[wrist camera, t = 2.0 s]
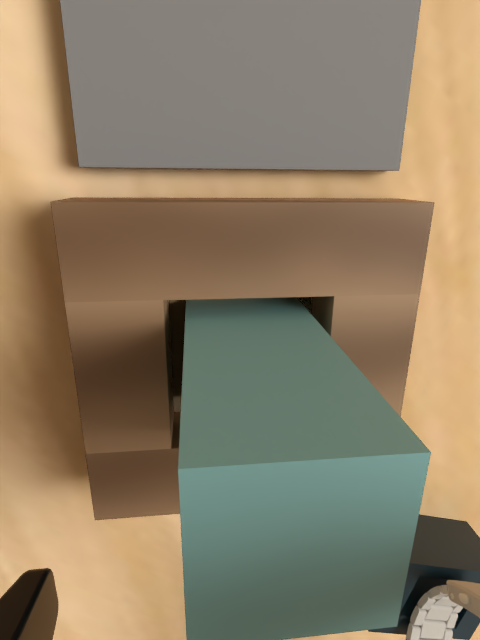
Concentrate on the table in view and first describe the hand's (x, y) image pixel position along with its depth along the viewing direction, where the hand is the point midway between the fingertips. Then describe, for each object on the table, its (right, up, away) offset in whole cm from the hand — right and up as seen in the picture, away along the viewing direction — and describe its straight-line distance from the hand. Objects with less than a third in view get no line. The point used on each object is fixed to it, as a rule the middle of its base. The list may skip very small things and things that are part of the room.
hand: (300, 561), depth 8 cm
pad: (-1, +15, +5) cm, 16 cm away
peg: (-1, +3, +9) cm, 10 cm away
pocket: (-1, +3, +9) cm, 10 cm away
